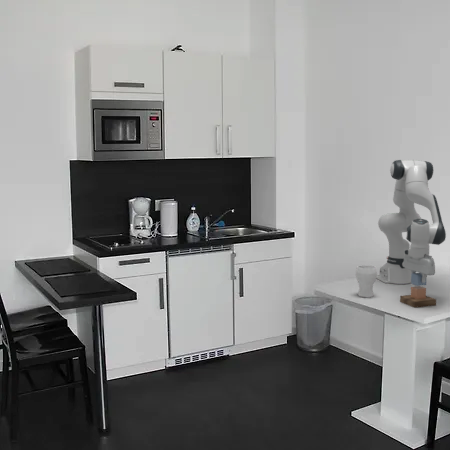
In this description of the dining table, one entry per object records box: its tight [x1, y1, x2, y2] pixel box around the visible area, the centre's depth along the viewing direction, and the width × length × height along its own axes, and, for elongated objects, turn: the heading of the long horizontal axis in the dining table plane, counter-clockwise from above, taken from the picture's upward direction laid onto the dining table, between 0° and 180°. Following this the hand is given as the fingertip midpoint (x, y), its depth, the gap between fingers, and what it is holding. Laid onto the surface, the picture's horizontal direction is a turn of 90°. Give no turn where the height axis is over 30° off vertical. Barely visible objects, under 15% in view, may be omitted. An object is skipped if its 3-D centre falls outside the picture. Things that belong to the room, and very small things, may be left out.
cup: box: [355, 264, 378, 298], centre depth 318 cm, size 11×11×15 cm
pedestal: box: [399, 294, 437, 309], centre depth 302 cm, size 12×12×3 cm
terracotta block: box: [410, 285, 427, 299], centre depth 301 cm, size 5×5×5 cm
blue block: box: [410, 272, 427, 286], centre depth 300 cm, size 5×5×5 cm
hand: (418, 280), depth 300 cm, fingers closed on blue block, 5 cm apart
